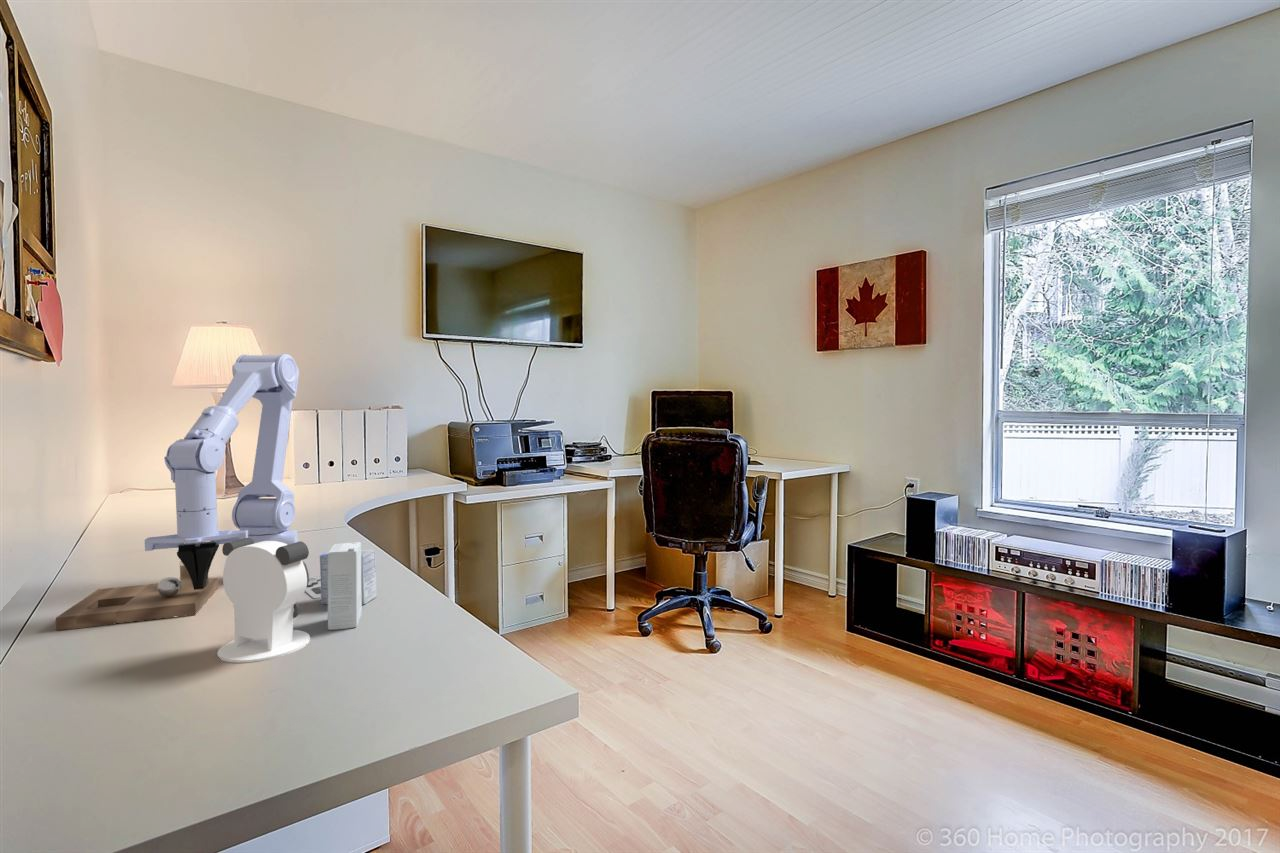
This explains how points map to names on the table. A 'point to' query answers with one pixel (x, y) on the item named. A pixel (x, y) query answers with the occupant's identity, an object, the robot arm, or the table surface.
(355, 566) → the skincare box
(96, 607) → the board
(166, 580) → the ball
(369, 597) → the medicine box
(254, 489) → the robot arm
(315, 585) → the handheld gaming device
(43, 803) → the table surface
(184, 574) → the pale gold metal block
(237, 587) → the white rounded upright piece
